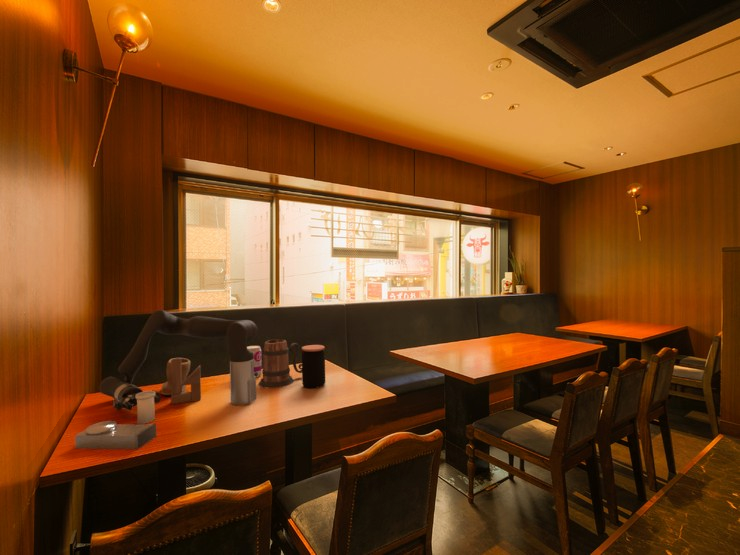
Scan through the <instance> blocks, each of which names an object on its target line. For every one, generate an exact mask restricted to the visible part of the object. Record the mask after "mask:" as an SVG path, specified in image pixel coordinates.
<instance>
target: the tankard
mask: <svg viewBox="0 0 740 555" xmlns="http://www.w3.org/2000/svg"><path fill="white" fill-rule="evenodd" d="M295 346H296V347H295ZM295 348H296V349H295ZM294 350H295V351H294ZM289 352H290V353H292V354H293V356H292V366H293V369H294V371H295V372H296V373H299V374H302V363H299V364H298V367H297V356H298V354H299V352H300V345H299V343H297V342H293V343H291V344H290V345H289V347H288V342H287V340H286V339H269V340H267V341H265V342H264V345H263V349H262V354H263V355H262V356H263V357H262V358H263V360H262V374H261V375H262V377H261V379H260V381H259V382H258V386H259V387H261V386H262V387H261V388H265V387H268V388H269V389H274V388H275V389H276V387H277V388H282V387H283V386H284V387H287V386H291V385H292V384H293V383H294V382H295V380H294V378H293V377H292V375H290V374H291V368H290V360H289ZM284 387H283V388H284ZM268 388H267V389H268Z"/></svg>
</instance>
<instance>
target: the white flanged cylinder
mask: <svg viewBox="0 0 740 555" xmlns="http://www.w3.org/2000/svg"><path fill="white" fill-rule="evenodd" d="M155 391H156V390H155ZM155 391H152V390H146V391H143V392H140V393H138V394H136V399H137V405H136V412H137V414H136V415H137V425H146V424H145V423H147V424H150V423H149V422H151V421H153V420H154V419H155V418H156V417H155V414H156V413H155V403H154V396H155ZM154 421H155V420H154ZM154 421H153V422H154ZM151 423H152V422H151Z"/></svg>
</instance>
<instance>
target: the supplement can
mask: <svg viewBox="0 0 740 555" xmlns="http://www.w3.org/2000/svg"><path fill="white" fill-rule="evenodd" d="M261 348H262V347H261V346H260V345H249V346H248V345H247V349H248V350H249V351H252V352H253V354H254V376H256V378H259V377H261V375H263V374H262V370H263V367H262V349H261Z"/></svg>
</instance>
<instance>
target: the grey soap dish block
mask: <svg viewBox="0 0 740 555" xmlns="http://www.w3.org/2000/svg"><path fill="white" fill-rule="evenodd" d="M153 438H154V439H155V438H157V423H156V422H153V423H151V424H125V423H124V424H121V423H120V424H117V422H116V420H115V421H114V420H107V421H106V420H104V421H100V422H96V423H94V424H91V425H89V426H87V427H86V428H85V430H83V431H81V432H78V433H77V434H75V435H74V449H84V450H85V449H94V450H95V449H98V450H99V449H101V450H139V449H141V448H142V447H144V446H145V445H147V444H148V443H150V442H151V441H152V440H154V439H153ZM150 440H151V441H150Z"/></svg>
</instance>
